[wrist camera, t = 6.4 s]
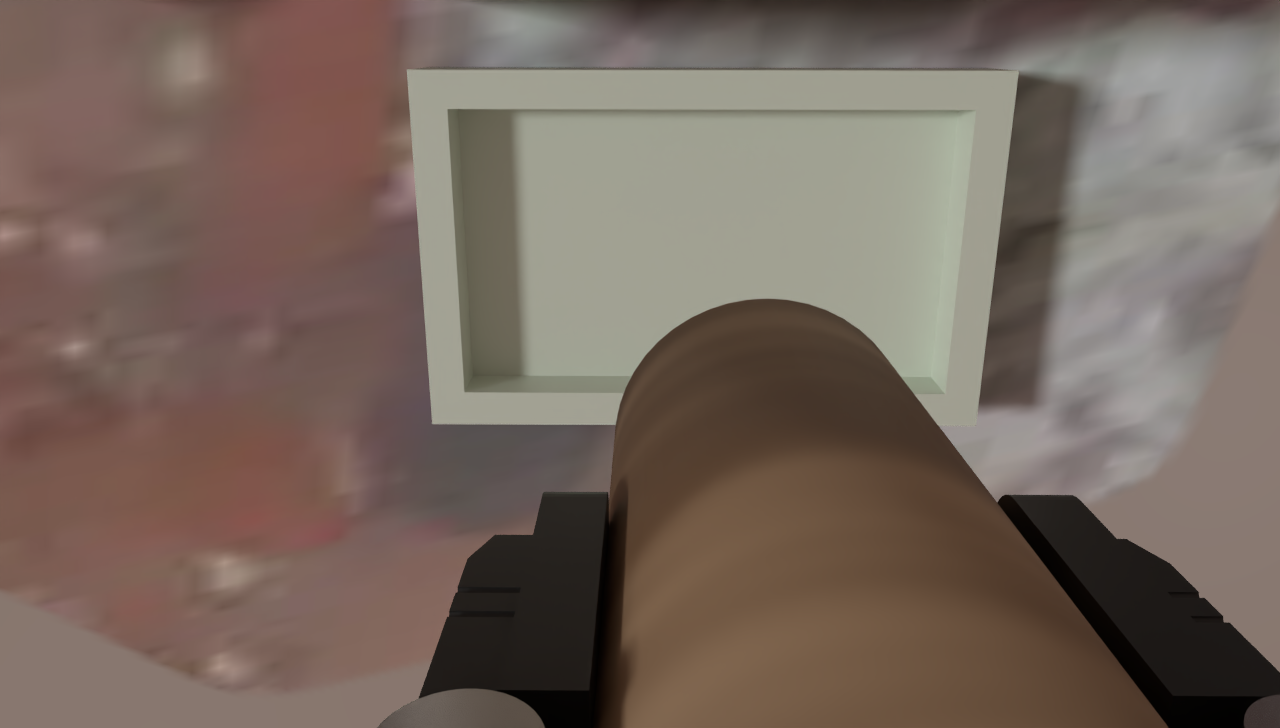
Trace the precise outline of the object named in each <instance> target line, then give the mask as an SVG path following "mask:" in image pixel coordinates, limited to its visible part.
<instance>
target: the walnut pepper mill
mask: <svg viewBox="0 0 1280 728" xmlns="http://www.w3.org/2000/svg"><path fill="white" fill-rule="evenodd" d="M593 728H1169V727H1168V726H1167V725H1166V723H1165V722H1164V721H1163V719H1162V718H1161V717H1160V715H1159V714H1158V713H1157V712H1156V710H1155V709H1154V708H1153V706H1152V705H1151V704H1150V702H1149V701H1148V700H1147V698H1146V697H1145V696H1144V694H1143V693H1142V692H1141V691H1140V689H1139V688H1138V687H1137V685H1136V684H1135V683H1134V681H1133V680H1132V679H1131V677H1130V676H1129V675H1128V674H1127V672H1126V671H1125V670H1124V668H1123V667H1122V666H1121V664H1120V663H1119V662H1118V660H1117V659H1116V658H1115V656H1114V655H1113V654H1112V653H1111V651H1110V650H1109V649H1108V647H1107V646H1106V645H1105V643H1104V642H1103V641H1102V639H1101V638H1100V637H1099V636H1098V634H1097V633H1096V632H1095V630H1094V629H1093V628H1092V626H1091V625H1090V624H1089V622H1088V621H1087V620H1086V619H1085V617H1084V616H1083V615H1082V613H1081V612H1080V611H1079V609H1078V608H1077V607H1076V605H1075V604H1074V603H1073V601H1072V600H1071V599H1070V598H1069V596H1068V595H1067V594H1066V592H1065V591H1064V590H1063V588H1062V587H1061V586H1060V584H1059V583H1058V582H1057V581H1056V579H1055V578H1054V577H1053V575H1052V574H1051V573H1050V571H1049V570H1048V569H1047V567H1046V566H1045V565H1044V564H1043V562H1042V561H1041V560H1040V558H1039V557H1038V556H1037V554H1036V553H1035V552H1034V550H1033V549H1032V548H1031V546H1030V545H1029V544H1028V543H1027V541H1026V540H1025V539H1024V537H1023V536H1022V535H1021V533H1020V532H1019V531H1018V529H1017V528H1016V527H1015V526H1014V524H1013V523H1012V522H1011V520H1010V519H1009V518H1008V516H1007V515H1006V514H1005V512H1004V511H1003V510H1002V508H1001V507H1000V506H999V505H998V503H997V502H996V501H995V499H994V498H993V497H992V495H991V494H990V493H989V491H988V490H987V489H986V488H985V486H984V485H983V484H982V482H981V481H980V480H979V478H978V477H977V476H976V474H975V473H974V472H973V471H972V469H971V468H970V467H969V465H968V464H967V463H966V461H965V460H964V459H963V457H962V456H961V455H960V453H959V452H958V451H957V450H956V448H955V447H954V446H953V444H952V443H951V442H950V440H949V439H948V438H947V436H946V435H945V434H944V433H943V431H942V430H941V429H940V427H939V426H938V425H937V423H936V422H935V421H934V419H933V418H932V417H931V415H930V414H929V413H928V412H927V410H926V409H925V408H924V406H923V405H922V404H921V402H920V401H919V400H918V398H917V397H916V396H915V395H914V393H913V392H912V391H911V389H910V388H909V387H908V385H907V384H906V383H905V381H904V380H903V379H902V378H901V376H900V375H899V374H898V372H897V371H896V370H895V368H894V367H893V366H892V364H891V363H890V362H889V360H888V359H887V358H886V357H885V355H884V354H883V353H882V352H881V351H880V349H879V348H878V347H877V346H876V345H875V343H874V342H873V341H872V340H871V339H869V338H868V337H867V336H866V335H865V334H864V333H863V332H862V331H861V330H860V329H858V328H857V327H855V326H854V325H852V324H851V323H849V322H848V321H846V320H845V319H843V318H841V317H839V316H837V315H835V314H833V313H831V312H829V311H827V310H825V309H822V308H819V307H816V306H813V305H810V304H806V303H801V302H796V301H791V300H783V299H751V300H743V301H738V302H733V303H728V304H724V305H721V306H718V307H715V308H712V309H709V310H707V311H705V312H702V313H700V314H698V315H696V316H694V317H692V318H690V319H688V320H687V321H685V322H683V323H682V324H680V325H679V326H677V327H676V328H674V329H673V330H672V331H670V332H669V333H668V334H667V335H665V336H664V337H663V338H662V339H661V340H659V341H658V342H657V343H656V345H655V346H654V347H653V348H652V349H651V350H650V351H649V352H648V353H647V354H646V355H645V357H644V358H643V360H642V361H641V362H640V364H639V365H638V367H637V368H636V369H635V371H634V373H633V375H632V377H631V379H630V380H629V382H628V384H627V386H626V388H625V391H624V394H623V397H622V400H621V402H620V406H619V410H618V415H617V420H616V429H615V440H614V452H613V463H612V475H611V486H610V498H609V534H608V546H607V559H606V571H605V583H604V595H603V608H602V620H601V632H600V645H599V657H598V669H597V681H596V694H595V706H594V718H593Z"/></svg>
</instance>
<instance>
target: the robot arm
mask: <svg viewBox="0 0 1280 728" xmlns="http://www.w3.org/2000/svg"><path fill="white" fill-rule="evenodd" d="M998 505H999V506H1000V507H1001V508H1002V510H1003V511H1004V512H1005V514H1006V515H1007V516H1008V518H1009V519H1010V520H1011V522H1012V523H1013V524H1014V526H1015V527H1016V528H1017V529H1018V531H1019V532H1020V533H1021V535H1022V536H1023V537H1024V539H1025V540H1026V541H1027V543H1028V544H1029V545H1030V546H1031V548H1032V549H1033V550H1034V552H1035V553H1036V554H1037V556H1038V557H1039V558H1040V560H1041V561H1042V562H1043V564H1044V565H1045V566H1046V567H1047V569H1048V570H1049V571H1050V573H1051V574H1052V575H1053V577H1054V578H1055V579H1056V581H1057V582H1058V583H1059V584H1060V586H1061V587H1062V588H1063V590H1064V591H1065V592H1066V594H1067V595H1068V596H1069V598H1070V599H1071V600H1072V601H1073V603H1074V604H1075V605H1076V607H1077V608H1078V609H1079V611H1080V612H1081V613H1082V615H1083V616H1084V617H1085V619H1086V620H1087V621H1088V622H1089V624H1090V625H1091V626H1092V628H1093V629H1094V630H1095V632H1096V633H1097V634H1098V636H1099V637H1100V638H1101V639H1102V641H1103V642H1104V643H1105V645H1106V646H1107V647H1108V649H1109V650H1110V651H1111V653H1112V654H1113V655H1114V656H1115V658H1116V659H1117V660H1118V662H1119V663H1120V664H1121V666H1122V667H1123V668H1124V670H1125V671H1126V672H1127V674H1128V675H1129V676H1130V677H1131V679H1132V680H1133V681H1134V683H1135V684H1136V685H1137V687H1138V688H1139V689H1140V691H1141V692H1142V693H1143V694H1144V696H1145V697H1146V698H1147V700H1148V701H1149V702H1150V704H1151V705H1152V706H1153V708H1154V709H1155V710H1156V712H1157V713H1158V714H1159V715H1160V717H1161V718H1162V719H1163V721H1164V722H1165V723H1166V725H1167V726H1168V727H1169V728H1280V672H1279V671H1277V669H1276V668H1275V667H1274V666H1273V665H1272V664H1271V663H1270V662H1269V661H1268V660H1266V658H1265V657H1263V655H1261V653H1260V652H1259V651H1258V650H1257V649H1256V648H1255V647H1253V646H1252V645H1251V644H1250V643H1249V642H1248V641H1247V640H1246V639H1245V638H1244V637H1243V636H1242V635H1241V634H1240V633H1239V632H1238V631H1237V630H1236V629H1235V628H1234V627H1233V626H1232V625H1231V624H1230V623H1224V622H1223V616H1222V615H1221V614H1220V613H1219V612H1218V611H1217V610H1216V609H1215V608H1214V607H1213V606H1212V605H1211V604H1210V603H1209V602H1208V601H1207V600H1206V599H1205V598H1199V592H1198V591H1197V590H1196V589H1195V588H1194V587H1193V586H1192V585H1191V584H1190V583H1189V582H1188V581H1187V580H1186V579H1185V578H1184V577H1183V576H1182V575H1181V574H1180V573H1179V572H1178V571H1177V570H1176V569H1175V568H1174V567H1173V566H1172V565H1171V564H1170V563H1168V562H1166V561H1164V560H1163V559H1161V558H1159V557H1157V556H1156V555H1154V554H1152V553H1150V552H1148V551H1146V550H1145V549H1143V548H1141V547H1139V546H1138V545H1136V544H1134V543H1132V542H1130V541H1129V540H1127V539H1116V538H1115V537H1114V536H1113V534H1112V533H1111V532H1110V531H1109V530H1108V529H1107V528H1106V527H1105V526H1104V525H1103V524H1102V523H1101V522H1100V521H1099V520H1098V519H1097V518H1096V517H1095V516H1094V514H1093V513H1092V512H1091V511H1090V510H1089V509H1088V508H1087V507H1086V506H1085V505H1084V504H1083V503H1082V502H1081V501H1080V500H1079V499H1078V498H1077V497H1075V496H1073V495H1004V496H1002V497H1001V498H1000V499H999V501H998ZM608 534H609V499H608V492H544V493H543V496H542V500H541V504H540V508H539V512H538V517H537V521H536V525H535V529H534V534H533V535H494V536H493V537H492V538H491V539H490V540H489V541H488V542H486V543H485V544H484V545H483V546H482V547H481V548H479V549H478V550H477V551H476V552H475V553H474V554H473V555H471V556H470V557H469V558H468V559H467V562H466V565H465V568H464V571H463V574H462V576H461V579H460V582H459V585H458V593H456V594H455V596H454V599H453V602H452V605H451V608H450V611H449V617H447V619H446V622H445V625H444V628H443V630H442V633H441V636H440V639H439V642H438V645H437V648H436V650H435V653H434V656H433V659H432V662H431V665H430V667H429V670H428V673H427V677H426V679H425V682H424V685H423V687H422V691H421V693H420V696H419V699H417V700H415V701H413V702H411V703H409V704H407V705H405V706H403V707H402V708H400V709H398V710H397V711H395V712H394V713H392V714H391V715H390V716H389V717H387V718H386V719H385V720H384V721H383V722H382V723H381V724H380V725H379V726H378V728H593V718H594V706H595V694H596V681H597V669H598V657H599V645H600V632H601V620H602V608H603V595H604V583H605V571H606V559H607V546H608Z"/></svg>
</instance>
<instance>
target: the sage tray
mask: <svg viewBox="0 0 1280 728" xmlns="http://www.w3.org/2000/svg"><path fill="white" fill-rule="evenodd" d="M1018 74H1019V71H1016V70H1002V69H988V68H516V67H426V68H417V69H408V70H407V78H408V92H409V106H410V120H411V134H412V148H413V162H414V176H415V189H416V203H417V217H418V231H419V245H420V259H421V273H422V287H423V301H424V315H425V328H426V342H427V356H428V370H429V384H430V398H431V412H432V424H536V425H616V420H617V415H618V410H619V406H620V402H621V400H622V397H623V394H624V391H625V388H626V386H627V384H628V382H629V380H630V379H631V377H632V375H633V373H634V371H635V369H636V368H637V367H638V365H639V364H640V362H641V361H642V360H643V358H644V357H645V355H646V354H647V353H648V352H649V351H650V350H651V349H652V348H653V347H654V346H655V345H656V343H657V342H658V341H659V340H661V339H662V338H663V337H664V336H665V335H667V334H668V333H669V332H670V331H672V330H673V329H674V328H676V327H677V326H679V325H680V324H682V323H683V322H685V321H687V320H688V319H690V318H692V317H694V316H696V315H698V314H700V313H702V312H705V311H707V310H709V309H712V308H715V307H718V306H721V305H724V304H728V303H733V302H738V301H743V300H751V299H783V300H791V301H796V302H801V303H806V304H810V305H813V306H816V307H819V308H822V309H825V310H827V311H829V312H831V313H833V314H835V315H837V316H839V317H841V318H843V319H845V320H846V321H848V322H849V323H851V324H852V325H854V326H855V327H857V328H858V329H860V330H861V331H862V332H863V333H864V334H865V335H866V336H867V337H868V338H869V339H871V340H872V341H873V342H874V343H875V345H876V346H877V347H878V348H879V349H880V351H881V352H882V353H883V354H884V355H885V357H886V358H887V359H888V360H889V362H890V363H891V364H892V366H893V367H894V368H895V370H896V371H897V372H898V374H899V375H900V376H901V378H902V379H903V380H904V381H905V383H906V384H907V385H908V387H909V388H910V389H911V391H912V392H913V393H914V395H915V396H916V397H917V398H918V400H919V401H920V402H921V404H922V405H923V406H924V408H925V409H926V410H927V412H928V413H929V414H930V415H931V417H932V418H933V419H934V421H935V422H936V423H937V425H938V426H976V421H977V413H978V404H979V396H980V388H981V380H982V371H983V363H984V355H985V347H986V338H987V330H988V322H989V314H990V305H991V297H992V289H993V281H994V272H995V264H996V256H997V248H998V239H999V231H1000V223H1001V214H1002V206H1003V198H1004V190H1005V181H1006V173H1007V165H1008V157H1009V148H1010V140H1011V132H1012V124H1013V115H1014V107H1015V99H1016V91H1017V82H1018Z"/></svg>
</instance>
